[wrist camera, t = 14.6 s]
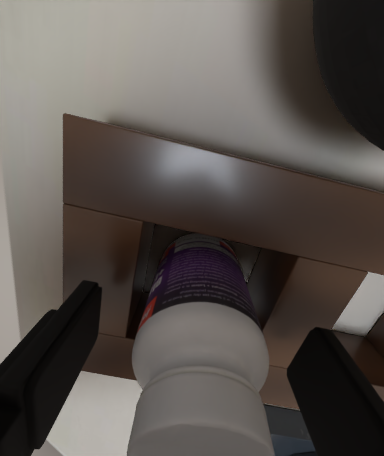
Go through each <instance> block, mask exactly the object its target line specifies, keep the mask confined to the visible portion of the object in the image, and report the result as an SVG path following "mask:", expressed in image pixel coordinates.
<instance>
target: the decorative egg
mask: <svg viewBox="0 0 384 456" xmlns="http://www.w3.org/2000/svg"><path fill="white" fill-rule="evenodd" d="M313 33H314V41H315V49H316V54H317V60H318V64H319V68H320V71H321V75H322V78H323V81H324V83H325V85H326V88H327V90H328V93H329V94H330V96H331V98H332V99H333V101H334V103H335V105H336V106H337V108H338V110H339V111H340V112H341V114H342V115H343V116H344V117H345V119H346V120H347V121H348V123H349V124H351V125H352V126H353V127H354V128H355V129H356V130H357V131H358V132H359V133H360V134H361V135H363V136H364V137H365V138H366V139H367V140H368V141H369V142H371V143H373V144H374V145H376V146H377V147H379V148H380V149H382V150H383V151H384V0H313Z"/></svg>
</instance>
